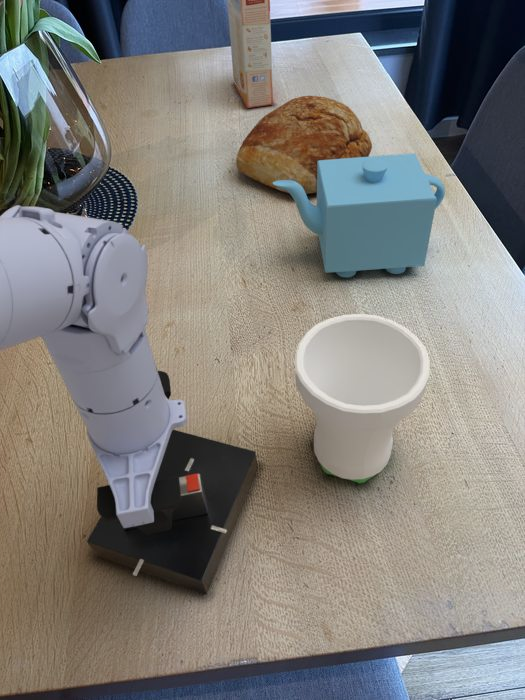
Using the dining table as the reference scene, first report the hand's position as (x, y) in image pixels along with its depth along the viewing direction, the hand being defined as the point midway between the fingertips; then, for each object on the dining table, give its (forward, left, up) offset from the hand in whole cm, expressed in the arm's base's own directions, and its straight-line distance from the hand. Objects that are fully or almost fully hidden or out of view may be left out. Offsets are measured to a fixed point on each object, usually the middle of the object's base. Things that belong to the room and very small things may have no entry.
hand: (155, 485), depth 46 cm
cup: (+13, -14, -8) cm, 21 cm away
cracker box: (+94, +26, -8) cm, 98 cm away
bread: (+66, +8, -8) cm, 67 cm away
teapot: (+45, -7, -8) cm, 46 cm away
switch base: (+2, 0, -8) cm, 8 cm away
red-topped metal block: (0, 0, -5) cm, 5 cm away
